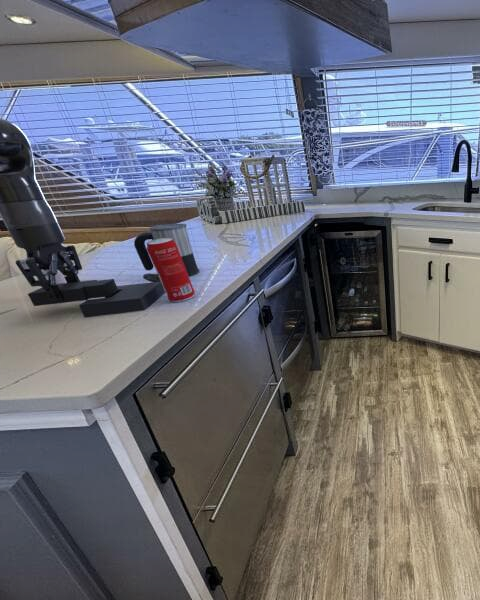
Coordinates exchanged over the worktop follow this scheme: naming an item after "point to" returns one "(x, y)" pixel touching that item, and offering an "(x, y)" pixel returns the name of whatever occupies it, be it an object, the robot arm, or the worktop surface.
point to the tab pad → (76, 291)
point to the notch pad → (124, 299)
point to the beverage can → (170, 269)
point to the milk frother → (178, 236)
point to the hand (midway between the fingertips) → (68, 295)
